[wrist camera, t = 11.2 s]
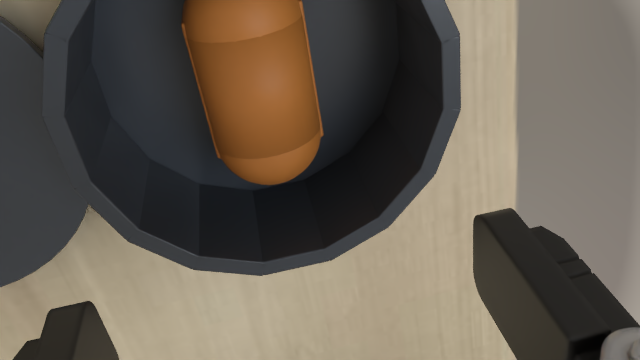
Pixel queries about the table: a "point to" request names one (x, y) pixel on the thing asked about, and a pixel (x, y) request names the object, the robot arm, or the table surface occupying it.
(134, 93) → the pot
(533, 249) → the robot arm
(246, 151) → the bread
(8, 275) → the lid
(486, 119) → the table surface
